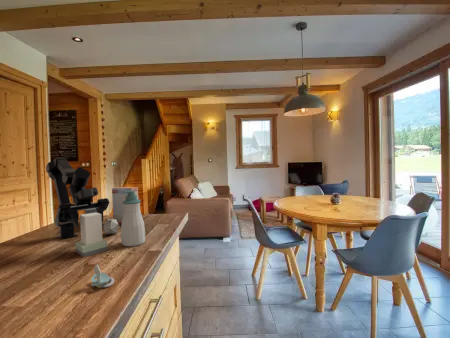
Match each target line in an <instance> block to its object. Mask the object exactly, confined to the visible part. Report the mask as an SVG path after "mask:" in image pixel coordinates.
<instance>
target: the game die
mask: <svg viewBox="0 0 450 338" xmlns="http://www.w3.org/2000/svg"><path fill="white" fill-rule="evenodd" d="M116 219H117V218H116ZM116 219H113V218H110V219H107V218H104V220H105V221H104V223H103V226H102V230H104V232H105V235H104V236H106V237H107V235H113V234H116V235H118V230H119V228H121V224H118V222H117V220H116Z"/></svg>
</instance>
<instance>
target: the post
mask: <svg viewBox="0 0 450 338" xmlns="http://www.w3.org/2000/svg"><path fill="white" fill-rule="evenodd" d="M79 223H80V224H79V226H80V241H81V242H82V243H84V244H85V245H89V244H93V243H97V242H101V241H103V240H102V239H103V227H102V224H103V222H102V217H101V214H99V213H96V212H95V213H89V214H86V213H83V214H79Z"/></svg>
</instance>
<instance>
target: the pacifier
mask: <svg viewBox="0 0 450 338" xmlns="http://www.w3.org/2000/svg"><path fill="white" fill-rule="evenodd" d="M93 272H94V274H93V275H92V276H91V278H90V280H91V283H92V284H91V287H96V288H99V289H100V288H108V287H110V286H113V284H114V283H115V279H114V277H112V276H109V275H108V274H107V273H106V272H102V271H101V269H100V266H99V264H95V265H94V267H93Z"/></svg>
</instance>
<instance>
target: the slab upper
mask: <svg viewBox="0 0 450 338" xmlns="http://www.w3.org/2000/svg"><path fill="white" fill-rule="evenodd" d="M102 240H103V241H101V242H97V243H93V244H89V245H85V244H84V243H82V242H81V240H79V241H76V242H74V245H75V248H76V249H78V250H79V251H81V252H82V253H85V252H89V251H93V250H96V249H100V248H104V247H107V246H108V241H107V240H106V239H104V238H102ZM76 249H75V250H76Z"/></svg>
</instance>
